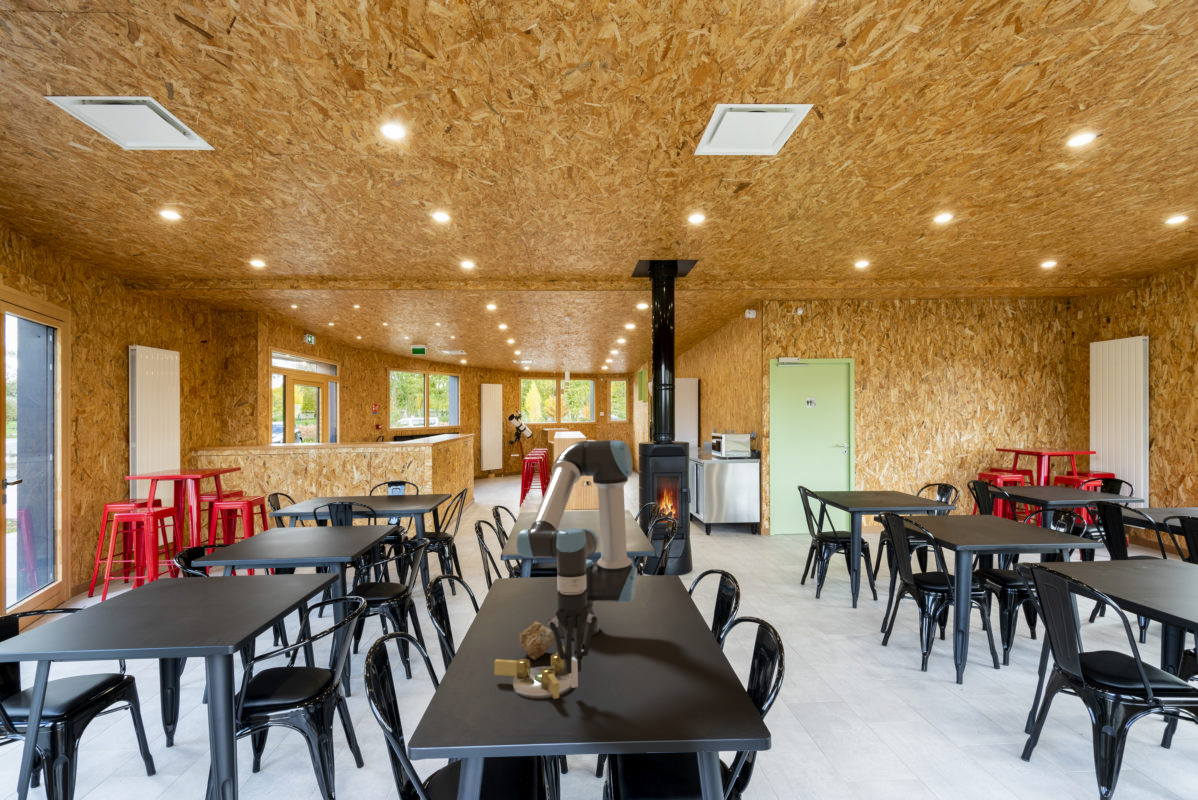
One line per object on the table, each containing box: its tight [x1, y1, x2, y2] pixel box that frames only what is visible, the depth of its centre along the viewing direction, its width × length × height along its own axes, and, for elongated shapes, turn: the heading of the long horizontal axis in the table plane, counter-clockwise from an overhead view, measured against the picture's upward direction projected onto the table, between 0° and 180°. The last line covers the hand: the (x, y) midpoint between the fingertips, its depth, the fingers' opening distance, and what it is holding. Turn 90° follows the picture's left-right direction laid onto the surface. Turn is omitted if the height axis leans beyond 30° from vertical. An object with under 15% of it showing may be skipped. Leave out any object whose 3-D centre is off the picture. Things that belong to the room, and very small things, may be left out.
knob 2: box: [541, 668, 560, 700], centre depth 146 cm, size 10×4×4 cm, turn 20°
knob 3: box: [550, 645, 565, 674], centre depth 162 cm, size 10×4×4 cm, turn 175°
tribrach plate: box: [512, 665, 573, 700], centre depth 154 cm, size 16×16×3 cm
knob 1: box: [493, 658, 531, 679], centre depth 156 cm, size 10×4×4 cm, turn 80°
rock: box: [518, 621, 555, 661], centre depth 174 cm, size 12×10×10 cm
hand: (573, 685), depth 146 cm, fingers closed
